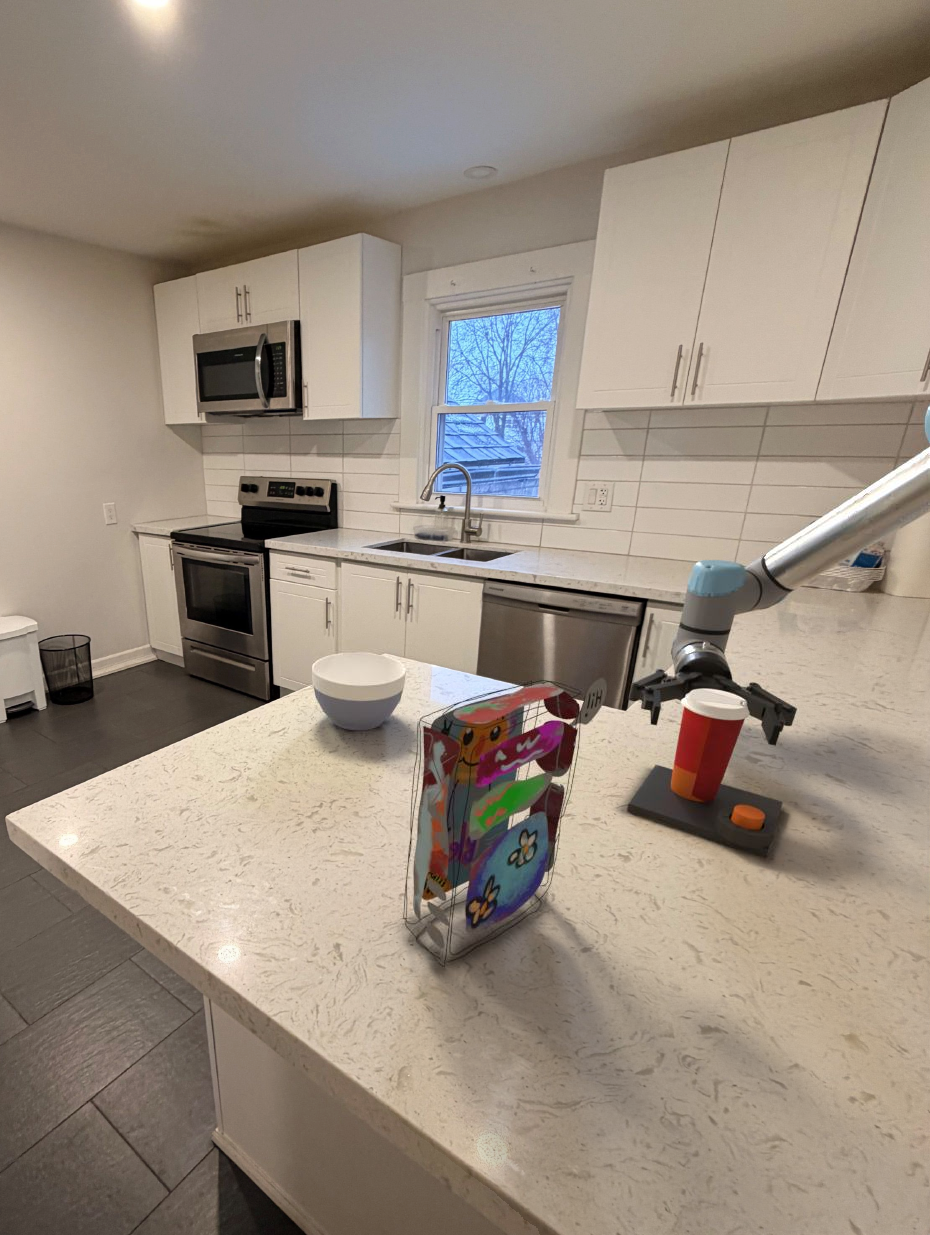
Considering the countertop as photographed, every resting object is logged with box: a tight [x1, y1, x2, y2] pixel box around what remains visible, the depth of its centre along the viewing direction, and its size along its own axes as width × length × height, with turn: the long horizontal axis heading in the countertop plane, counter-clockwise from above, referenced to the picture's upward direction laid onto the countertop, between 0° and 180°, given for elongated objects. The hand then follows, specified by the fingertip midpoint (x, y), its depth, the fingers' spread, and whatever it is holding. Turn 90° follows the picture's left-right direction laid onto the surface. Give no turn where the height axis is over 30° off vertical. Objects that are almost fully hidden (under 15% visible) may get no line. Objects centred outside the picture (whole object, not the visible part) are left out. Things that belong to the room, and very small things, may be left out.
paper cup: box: [671, 689, 750, 802], centre depth 86 cm, size 8×8×14 cm
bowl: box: [311, 652, 407, 731], centre depth 110 cm, size 16×16×10 cm
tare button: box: [731, 805, 765, 830], centre depth 79 cm, size 3×3×2 cm
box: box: [402, 677, 608, 968], centre depth 65 cm, size 25×6×24 cm, turn 126°
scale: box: [626, 764, 783, 859], centre depth 85 cm, size 16×15×3 cm
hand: (713, 725), depth 83 cm, fingers open, 13 cm apart
